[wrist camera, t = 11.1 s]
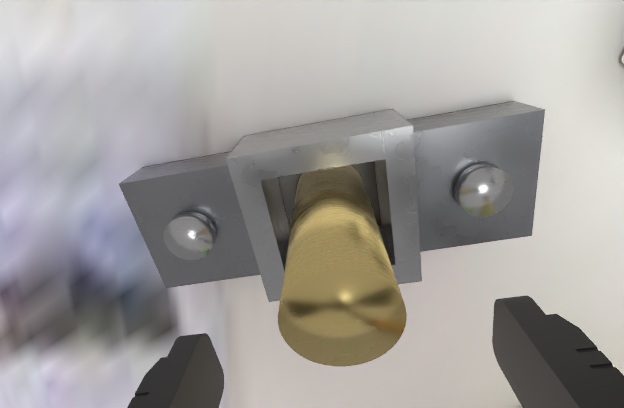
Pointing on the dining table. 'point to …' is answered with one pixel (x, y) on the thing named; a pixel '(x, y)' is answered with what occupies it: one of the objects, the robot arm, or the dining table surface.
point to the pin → (338, 274)
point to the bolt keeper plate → (336, 153)
